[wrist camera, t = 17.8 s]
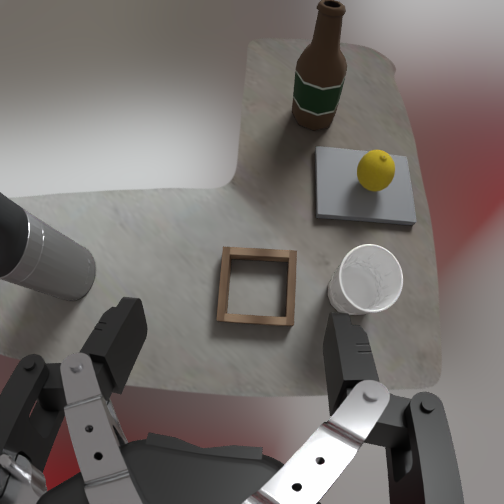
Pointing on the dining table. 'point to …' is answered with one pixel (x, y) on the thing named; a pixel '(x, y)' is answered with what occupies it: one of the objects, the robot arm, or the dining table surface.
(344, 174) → the gray board
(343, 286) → the white cup
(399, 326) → the dining table surface
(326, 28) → the beer bottle
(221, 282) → the walnut collar
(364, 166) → the lemon
